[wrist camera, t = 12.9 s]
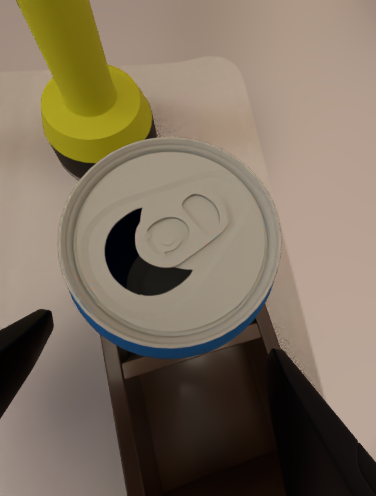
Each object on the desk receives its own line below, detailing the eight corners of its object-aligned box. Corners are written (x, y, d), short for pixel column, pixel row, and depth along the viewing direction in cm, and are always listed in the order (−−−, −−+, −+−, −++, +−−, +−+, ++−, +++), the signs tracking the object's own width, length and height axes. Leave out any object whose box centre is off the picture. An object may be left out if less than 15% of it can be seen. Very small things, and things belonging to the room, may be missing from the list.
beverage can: (111, 277, 17) (-12, 205, 6) (180, 228, 19) (192, 89, 7) (164, 351, 16) (143, 444, 5) (233, 292, 18) (349, 251, 6)
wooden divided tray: (212, 219, 20) (225, 188, 15) (287, 454, 16) (339, 517, 11) (104, 244, 19) (80, 219, 14) (154, 505, 15) (144, 603, 10)
